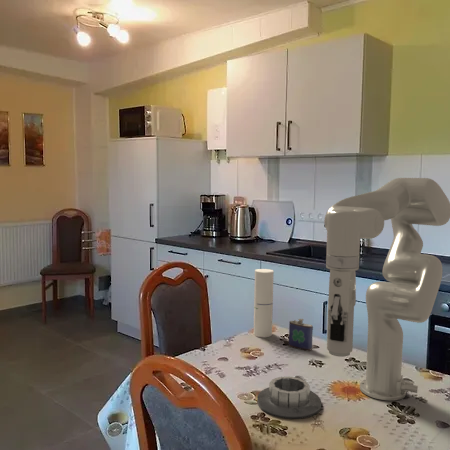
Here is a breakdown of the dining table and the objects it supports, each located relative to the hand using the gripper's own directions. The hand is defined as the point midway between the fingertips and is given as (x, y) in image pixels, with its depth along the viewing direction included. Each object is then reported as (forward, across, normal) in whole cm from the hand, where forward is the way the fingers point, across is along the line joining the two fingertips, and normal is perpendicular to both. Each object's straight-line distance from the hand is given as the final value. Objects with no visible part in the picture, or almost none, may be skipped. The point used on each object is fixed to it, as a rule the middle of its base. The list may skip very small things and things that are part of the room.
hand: (340, 335), depth 115 cm
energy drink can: (+5, 0, 0) cm, 5 cm away
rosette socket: (+23, +6, +14) cm, 28 cm away
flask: (+24, +50, +23) cm, 60 cm away
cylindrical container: (+24, +58, +40) cm, 74 cm away
